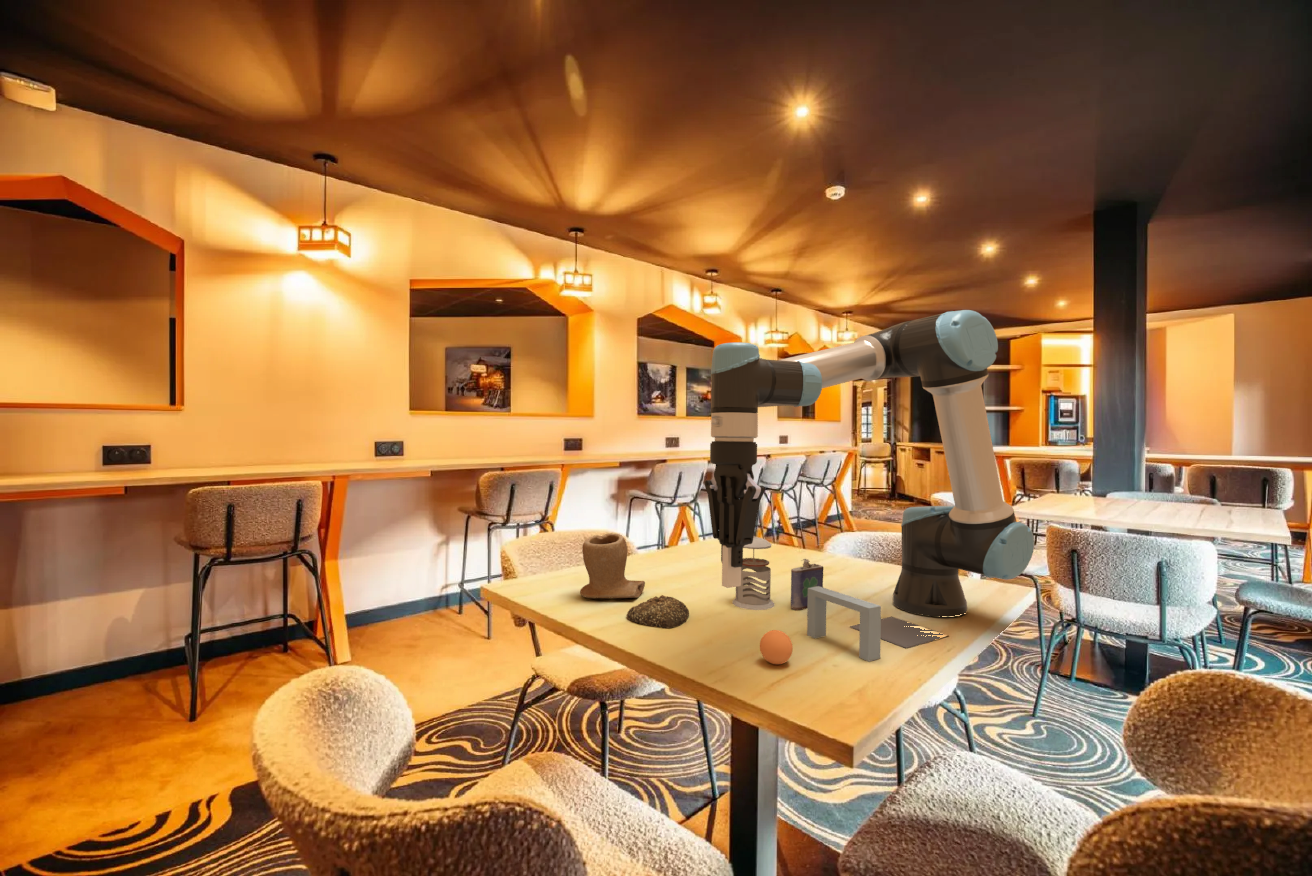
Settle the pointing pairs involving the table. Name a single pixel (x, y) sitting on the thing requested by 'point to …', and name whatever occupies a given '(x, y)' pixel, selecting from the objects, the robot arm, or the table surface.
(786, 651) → the ball
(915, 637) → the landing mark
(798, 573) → the flask
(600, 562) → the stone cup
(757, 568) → the french press
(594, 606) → the table surface
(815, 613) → the bridge
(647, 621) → the bread roll
